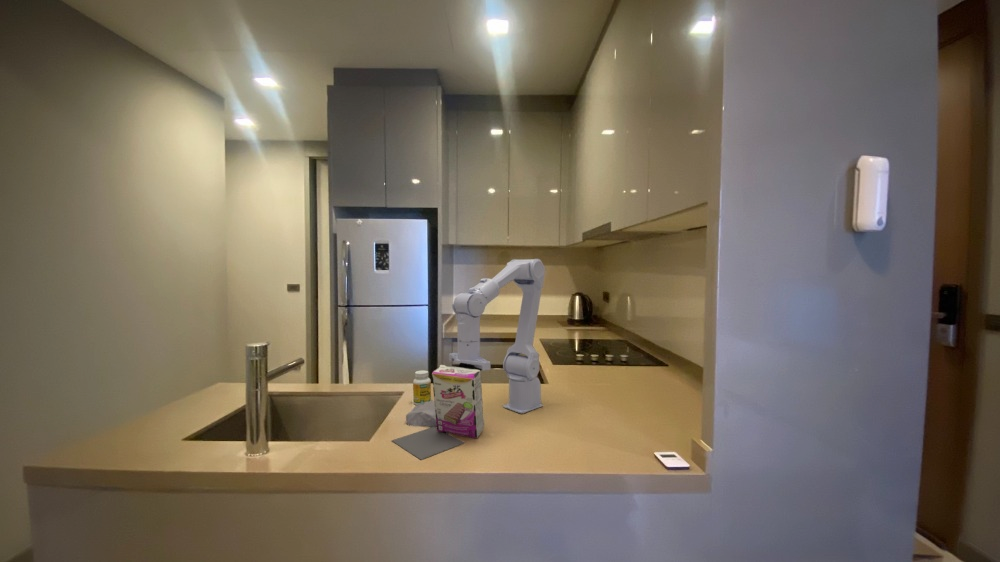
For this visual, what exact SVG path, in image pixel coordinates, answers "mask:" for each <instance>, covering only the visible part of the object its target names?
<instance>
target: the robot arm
mask: <svg viewBox="0 0 1000 562" xmlns="http://www.w3.org/2000/svg"><path fill="white" fill-rule="evenodd" d="M545 276H546V268H545V266H544V263H543V261H542V260H541V259H540V258H534V259H531V258H530V259H529V258H528V259H517V258H513V259H511V260H510V261H508V262H506V265H505V267H504V268H503V269H502V270H500V271H499V272H498V273H497V274H496V275H495V276H494V277H492V278H486V277H485V278H481V279H480V280H479V283H477V284H476V285H475V286H473V287H470V288H469V289H468V291H466V292H461V293H459V294H458V295H456V297H455V298H454V300H453V302H452V304H451V307H452V311H453V313H454V314H455V320H456V322H457V324H456V325H457V327H456V329H457V334H456V335H457V342H456V343H457V352H451V353H448V361H449V362H454V363H456V364H459V365H456V366H455V367H460V368H468V369H476V370H481V371H483V372H485V371H490V370H491V361H489V360H486V359H485V358H483V357H481V315H482V316H483V313H484V312H485V310H486V307H487V305H489V303H491V302H492V301H493V300H494V299H496V298H497V297H498V296H499V295H500V290H501V289H502V288H503V287H505V286H506V285H508V284H510V283H511V282H513V283H514V284H515V285H516V286H517V287H518V288H520V289H521V290H522V300H521V305H520V309H519V311H520V312H519V318H518V322H517V329H516V335H515V342H514V344H512V345H511V346H509V347H508V348H507V350H506V355H505V357H504V358H503V363H502V368H503V371H504V373H505V374H506V377H507V378H508V403H506V404H503V405H502V407H503V408H505V409H507V410H510V411H513V412H516V413H518V414H522V413H523V414H525V413H528V412H531V411H533V410H536V409H539V408H541V407H544V404H543V403H542V400H541V399H542V395H541V394H542V385H541V381H540V379H539V377H537V376H538V374H539V372H540V353H539V352H538V351H537V350H536V349H535V347H534V346H533V345H534V339H535V333H536V328H537V321H538V315H539V307H540V302H541V295H542V289H543V287H544V281H545ZM522 354H523V355H522ZM523 414H522V415H523Z"/></svg>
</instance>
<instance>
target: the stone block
mask: <svg viewBox="0 0 1000 562" xmlns="http://www.w3.org/2000/svg"><path fill="white" fill-rule="evenodd" d="M405 421H406V423H407V426H412V427H421V428H422V427H423V428H425V427H426V428H431V427H436V428H437V424H436V412H435V401H434V400H431V401H429V402H424V403H420V404H418V405H415V406H414V407H413V408H412V409H411V411H409V412H408V413H407V414H406V415H405Z"/></svg>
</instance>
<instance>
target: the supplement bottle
mask: <svg viewBox="0 0 1000 562" xmlns="http://www.w3.org/2000/svg"><path fill="white" fill-rule="evenodd" d="M414 376H415V378H414V379H413V381H412V389H413V392H412V393H413V396H412V397H413V399H412V400H413V404H414V405H415V406H417V405H418V404H420V403H424V402H429V401H432V389H431V388H432V386H431V385H432V383H431V382H432V379H431V378H430V377H429V371H428V370H417V371H415V372H414Z"/></svg>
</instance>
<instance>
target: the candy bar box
mask: <svg viewBox="0 0 1000 562" xmlns="http://www.w3.org/2000/svg"><path fill="white" fill-rule="evenodd" d="M431 378H432V379H431V381H432V389H433V390H432V391H433V399H434V400H433V401H435V412H436V424H437V427H436V428H437V431H439V432H445V433H447V434H449V435H456V436H461V437H465V438H466V437H467V438H472V439H478V438H479V436H480V434H481V433H482V431H483V430H484V427H485V423H484V422H485V421H484V410H483V409H484V406H483V403H484V402H483V392H482V391H483V389H482V388H483V387H482V370H476V369H468V368H460V367H456V366H450V365H445V364H440V365H439V366H438V367H436V369H434V370H433V371H432V373H431Z"/></svg>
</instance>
